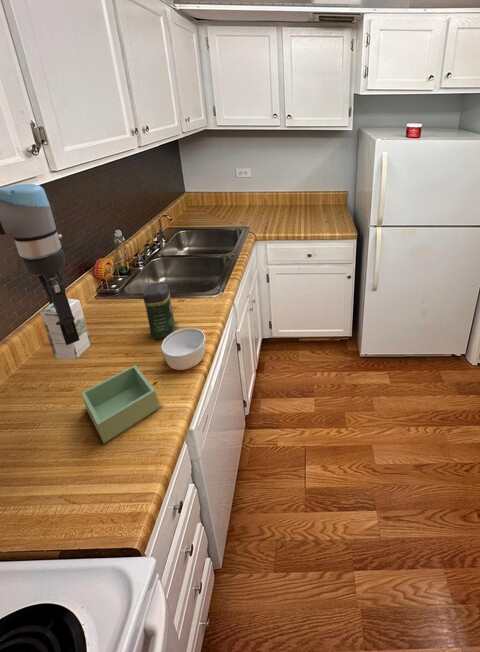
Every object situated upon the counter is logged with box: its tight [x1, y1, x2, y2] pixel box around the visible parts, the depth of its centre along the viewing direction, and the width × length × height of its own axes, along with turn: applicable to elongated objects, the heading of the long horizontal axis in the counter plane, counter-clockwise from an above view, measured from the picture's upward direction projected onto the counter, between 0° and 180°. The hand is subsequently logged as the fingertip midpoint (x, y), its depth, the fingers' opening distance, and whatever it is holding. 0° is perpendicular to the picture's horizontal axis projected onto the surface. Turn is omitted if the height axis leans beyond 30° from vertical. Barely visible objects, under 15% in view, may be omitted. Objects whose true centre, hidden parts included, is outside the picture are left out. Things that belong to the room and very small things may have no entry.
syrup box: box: [39, 298, 92, 361], centre depth 83 cm, size 6×6×14 cm
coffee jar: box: [142, 281, 176, 340], centre depth 116 cm, size 10×8×19 cm
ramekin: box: [160, 327, 207, 371], centre depth 106 cm, size 13×13×7 cm
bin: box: [80, 364, 160, 444], centre depth 89 cm, size 14×14×6 cm
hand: (68, 334), depth 84 cm, fingers closed on syrup box, 8 cm apart
